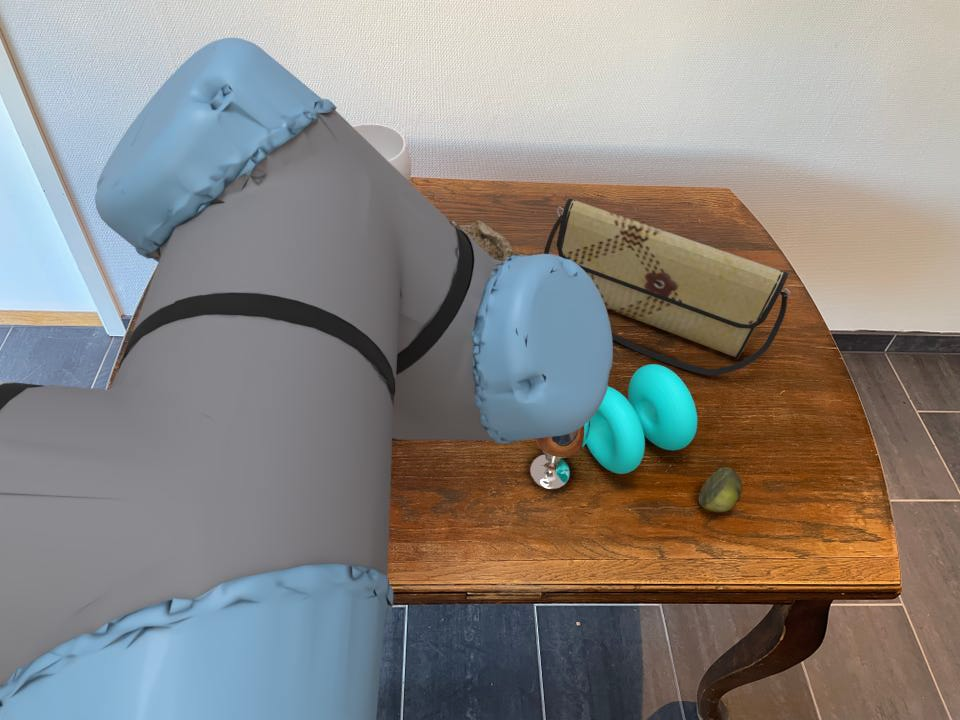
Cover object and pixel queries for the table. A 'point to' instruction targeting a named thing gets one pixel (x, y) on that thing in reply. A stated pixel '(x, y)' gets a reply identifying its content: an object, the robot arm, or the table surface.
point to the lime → (721, 490)
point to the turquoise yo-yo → (642, 419)
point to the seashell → (488, 240)
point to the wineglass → (557, 457)
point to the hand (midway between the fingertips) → (169, 393)
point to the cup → (388, 145)
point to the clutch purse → (671, 282)
